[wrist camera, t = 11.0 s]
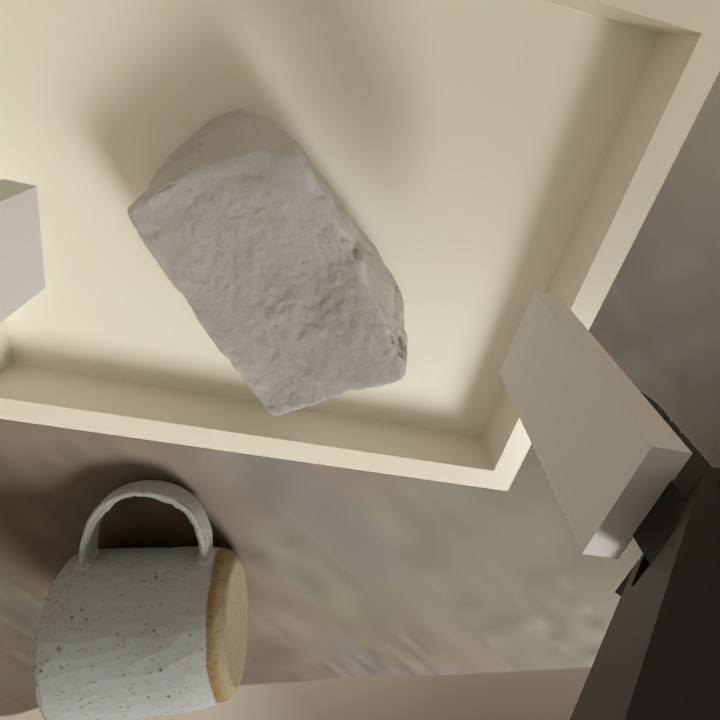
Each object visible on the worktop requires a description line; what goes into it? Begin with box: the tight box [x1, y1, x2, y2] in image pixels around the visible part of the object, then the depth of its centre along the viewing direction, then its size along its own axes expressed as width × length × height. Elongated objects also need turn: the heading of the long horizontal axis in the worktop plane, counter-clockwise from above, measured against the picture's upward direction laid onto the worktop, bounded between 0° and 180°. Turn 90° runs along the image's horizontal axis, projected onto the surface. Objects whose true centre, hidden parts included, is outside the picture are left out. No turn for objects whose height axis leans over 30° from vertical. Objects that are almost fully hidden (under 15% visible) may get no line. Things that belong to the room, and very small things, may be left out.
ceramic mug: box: [34, 480, 248, 720], centre depth 25 cm, size 11×8×8 cm
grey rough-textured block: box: [127, 108, 408, 416], centre depth 18 cm, size 10×6×6 cm, turn 22°
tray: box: [0, 0, 720, 491], centre depth 18 cm, size 22×18×3 cm
